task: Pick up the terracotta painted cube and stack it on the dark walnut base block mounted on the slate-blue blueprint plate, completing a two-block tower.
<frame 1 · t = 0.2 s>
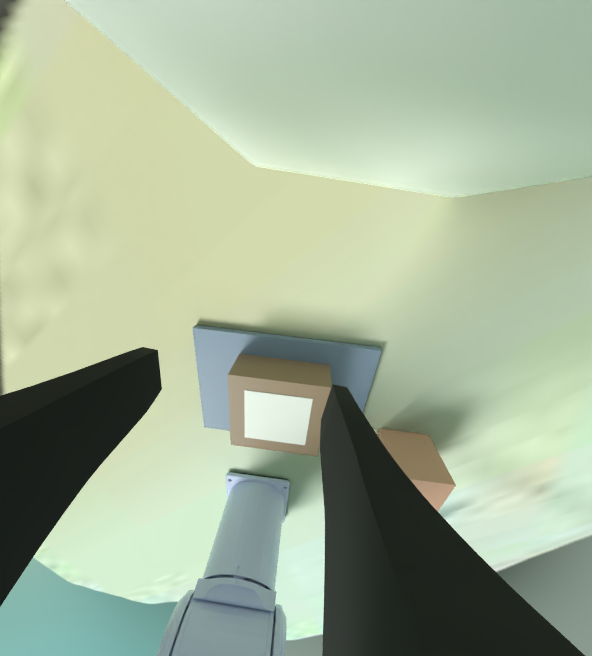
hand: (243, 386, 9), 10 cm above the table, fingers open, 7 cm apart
terracotta cube: (397, 446, 24), on the table
blueprint plate: (282, 389, 22), on the table
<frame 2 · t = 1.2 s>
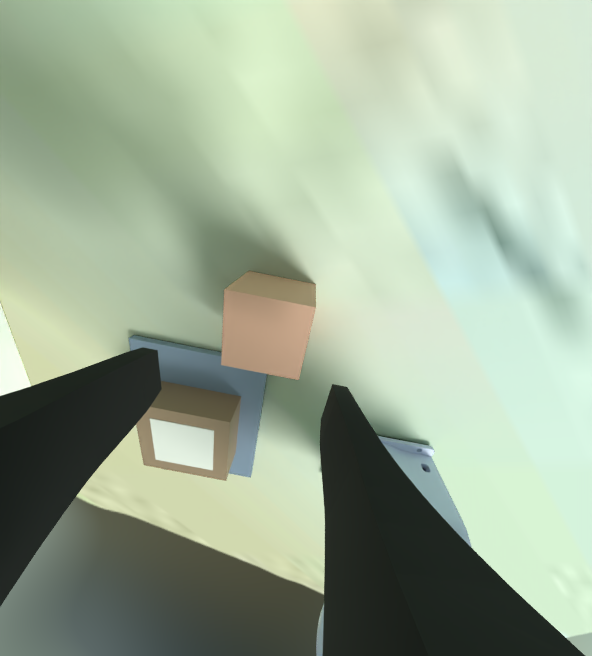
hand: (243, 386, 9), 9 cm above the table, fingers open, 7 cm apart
terracotta cube: (277, 308, 18), on the table
blueprint plate: (201, 414, 23), on the table
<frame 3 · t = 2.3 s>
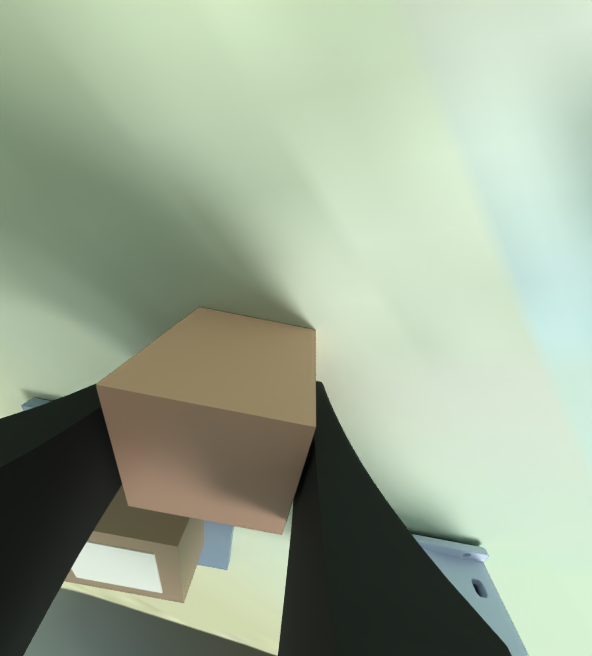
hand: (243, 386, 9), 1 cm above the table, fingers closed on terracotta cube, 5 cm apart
terracotta cube: (252, 366, 11), on the table, touching gripper
blueprint plate: (152, 496, 16), on the table
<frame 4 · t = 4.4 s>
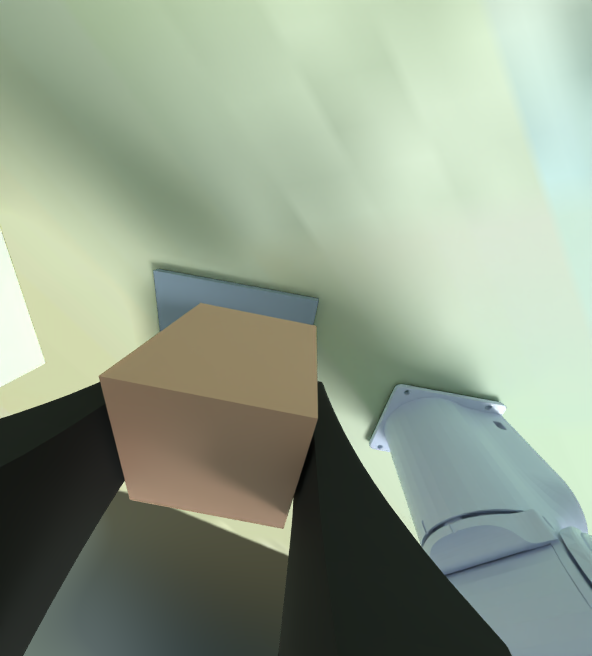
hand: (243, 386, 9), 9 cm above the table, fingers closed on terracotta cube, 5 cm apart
terracotta cube: (253, 362, 11), point 7 cm above the table, touching gripper
blueprint plate: (233, 370, 20), on the table
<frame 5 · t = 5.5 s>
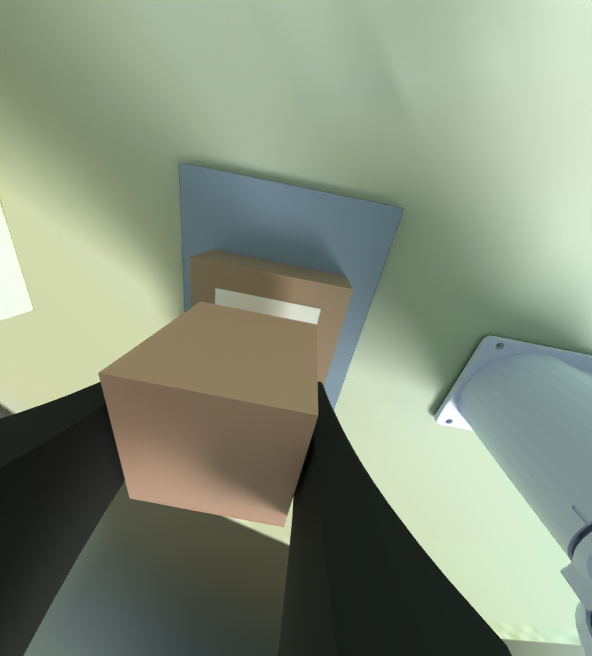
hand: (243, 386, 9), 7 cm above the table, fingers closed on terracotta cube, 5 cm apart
terracotta cube: (253, 361, 11), point 6 cm above the table, touching gripper
blueprint plate: (273, 318, 16), on the table
when the fingers open (6 cm above the table, at t = 6.2 s): terracotta cube drops 1 cm, resting on blueprint plate.
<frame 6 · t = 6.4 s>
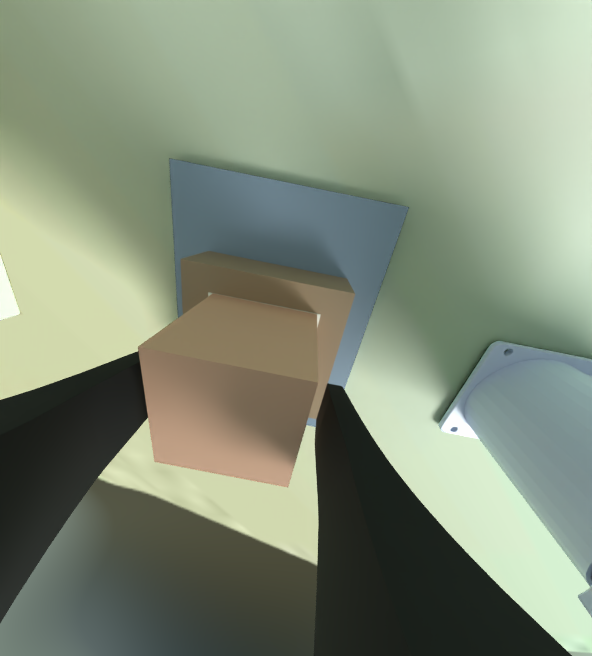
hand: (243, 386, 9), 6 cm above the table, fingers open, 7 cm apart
terracotta cube: (259, 348, 12), point 4 cm above the table, touching blueprint plate
blueprint plate: (270, 323, 15), on the table
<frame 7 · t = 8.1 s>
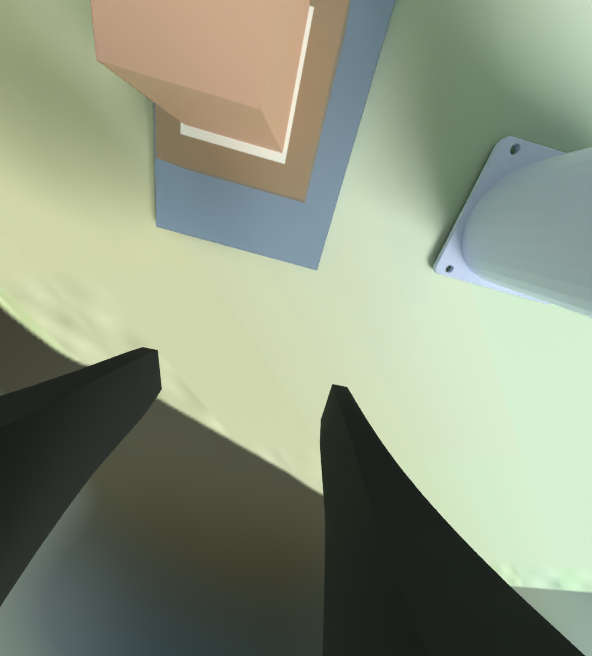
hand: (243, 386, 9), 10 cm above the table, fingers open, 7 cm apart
terracotta cube: (241, 71, 10), point 4 cm above the table, touching blueprint plate
blueprint plate: (258, 111, 14), on the table
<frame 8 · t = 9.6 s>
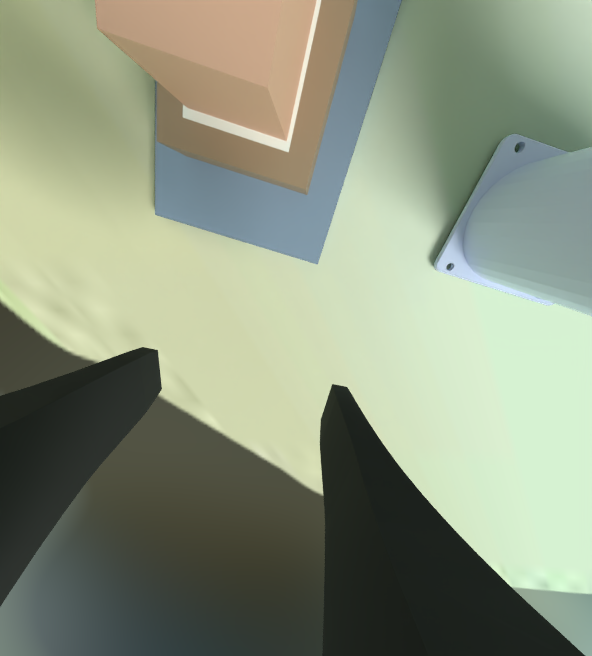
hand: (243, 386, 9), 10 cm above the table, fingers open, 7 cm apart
terracotta cube: (246, 54, 10), point 4 cm above the table, touching blueprint plate
blueprint plate: (262, 99, 13), on the table
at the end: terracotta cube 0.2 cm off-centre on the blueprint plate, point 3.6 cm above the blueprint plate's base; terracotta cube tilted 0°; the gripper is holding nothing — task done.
